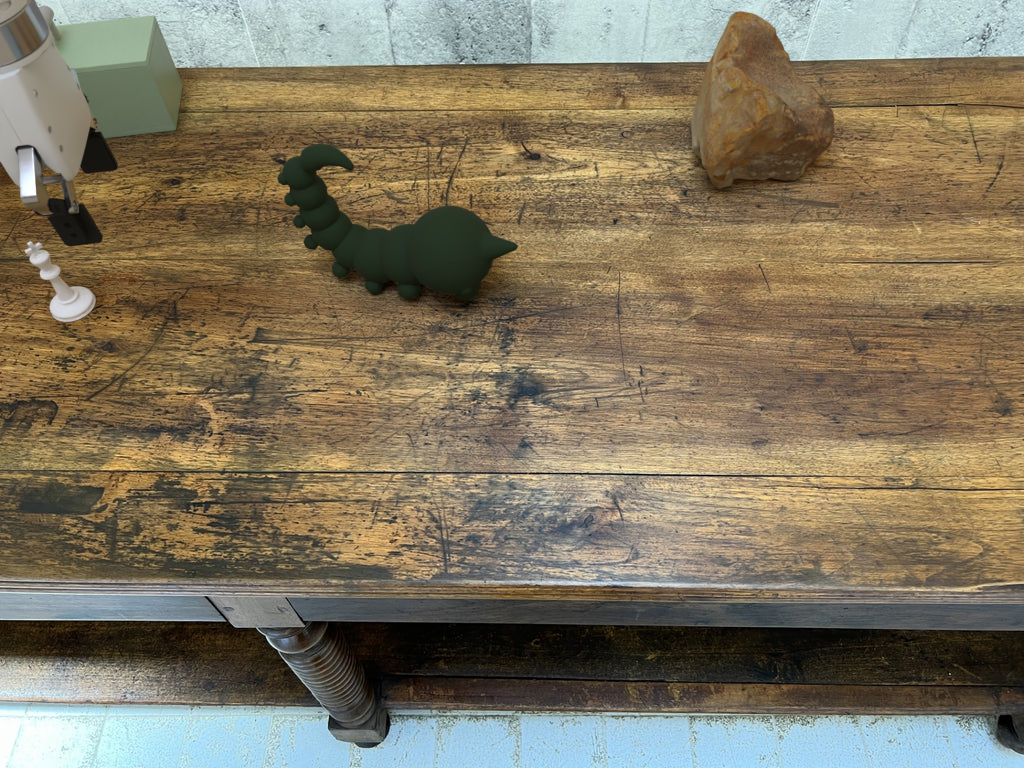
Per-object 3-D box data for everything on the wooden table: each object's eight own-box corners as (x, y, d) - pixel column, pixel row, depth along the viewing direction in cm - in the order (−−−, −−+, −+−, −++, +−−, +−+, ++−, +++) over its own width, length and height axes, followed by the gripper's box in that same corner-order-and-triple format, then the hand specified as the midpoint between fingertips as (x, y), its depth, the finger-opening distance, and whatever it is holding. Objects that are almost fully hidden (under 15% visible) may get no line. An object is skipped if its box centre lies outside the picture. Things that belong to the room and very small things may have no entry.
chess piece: (104, 304, 94) (62, 241, 86) (65, 329, 92) (19, 267, 84) (82, 283, 96) (39, 220, 88) (43, 307, 94) (-4, 244, 86)
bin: (75, 142, 111) (39, 78, 103) (87, 95, 118) (54, 32, 110) (176, 130, 112) (148, 66, 104) (183, 84, 118) (157, 21, 110)
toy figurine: (310, 302, 95) (514, 332, 89) (250, 172, 80) (490, 196, 74) (341, 246, 101) (537, 270, 94) (290, 114, 86) (519, 132, 79)
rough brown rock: (815, 233, 98) (866, 129, 86) (678, 208, 99) (710, 101, 87) (812, 119, 112) (856, 15, 100) (692, 98, 113) (720, -7, 101)
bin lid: (32, 78, 103) (11, 41, 99) (48, 32, 110) (28, -5, 105) (148, 66, 104) (131, 28, 100) (157, 20, 110) (142, -17, 106)
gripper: (-34, -25, 65) (68, 149, 79) (-95, 106, 55) (33, 279, 69) (62, -35, 66) (146, 140, 80) (18, 93, 56) (123, 268, 70)
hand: (93, 204), depth 75 cm, fingers open, 9 cm apart
